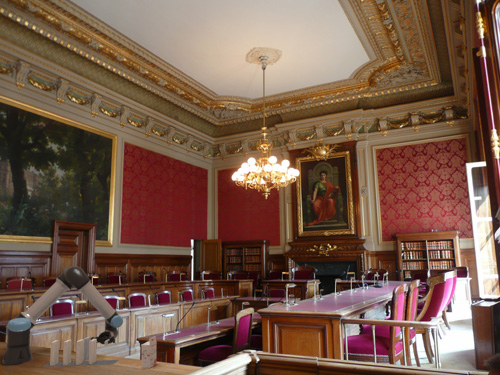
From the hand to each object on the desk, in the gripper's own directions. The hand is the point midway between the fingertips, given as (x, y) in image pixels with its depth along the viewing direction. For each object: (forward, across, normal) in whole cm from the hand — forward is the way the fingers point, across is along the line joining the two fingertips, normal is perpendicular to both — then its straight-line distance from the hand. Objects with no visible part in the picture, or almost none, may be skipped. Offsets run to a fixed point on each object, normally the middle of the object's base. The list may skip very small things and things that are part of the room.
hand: (93, 344), depth 250 cm
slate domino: (+10, 0, -7) cm, 12 cm away
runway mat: (+20, -1, -6) cm, 21 cm away
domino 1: (+20, +14, -6) cm, 25 cm away
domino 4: (+20, -7, -6) cm, 22 cm away
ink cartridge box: (+29, -40, -7) cm, 50 cm away
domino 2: (+20, +7, -6) cm, 22 cm away
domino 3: (+20, 0, -6) cm, 21 cm away
